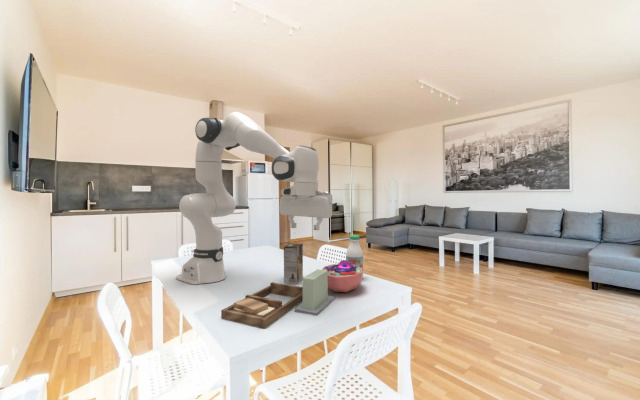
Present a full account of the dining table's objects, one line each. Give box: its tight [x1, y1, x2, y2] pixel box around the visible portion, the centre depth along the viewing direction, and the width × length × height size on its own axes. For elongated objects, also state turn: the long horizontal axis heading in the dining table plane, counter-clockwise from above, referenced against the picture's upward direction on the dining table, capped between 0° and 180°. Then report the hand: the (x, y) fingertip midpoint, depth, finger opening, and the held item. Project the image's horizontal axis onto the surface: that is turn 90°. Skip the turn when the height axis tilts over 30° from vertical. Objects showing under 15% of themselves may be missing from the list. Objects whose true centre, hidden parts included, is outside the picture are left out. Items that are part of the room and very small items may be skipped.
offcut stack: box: [233, 297, 275, 318], centre depth 90 cm, size 13×7×4 cm, turn 60°
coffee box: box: [283, 243, 304, 285], centre depth 127 cm, size 9×6×16 cm
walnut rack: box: [220, 282, 303, 329], centre depth 97 cm, size 16×26×4 cm, turn 156°
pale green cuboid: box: [302, 269, 329, 310], centre depth 99 cm, size 4×12×10 cm, turn 156°
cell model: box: [321, 259, 364, 293], centre depth 115 cm, size 17×20×11 cm
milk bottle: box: [345, 234, 364, 280], centre depth 130 cm, size 8×8×20 cm
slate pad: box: [294, 295, 336, 317], centre depth 99 cm, size 8×16×1 cm, turn 156°
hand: (304, 228), depth 103 cm, fingers open, 8 cm apart
